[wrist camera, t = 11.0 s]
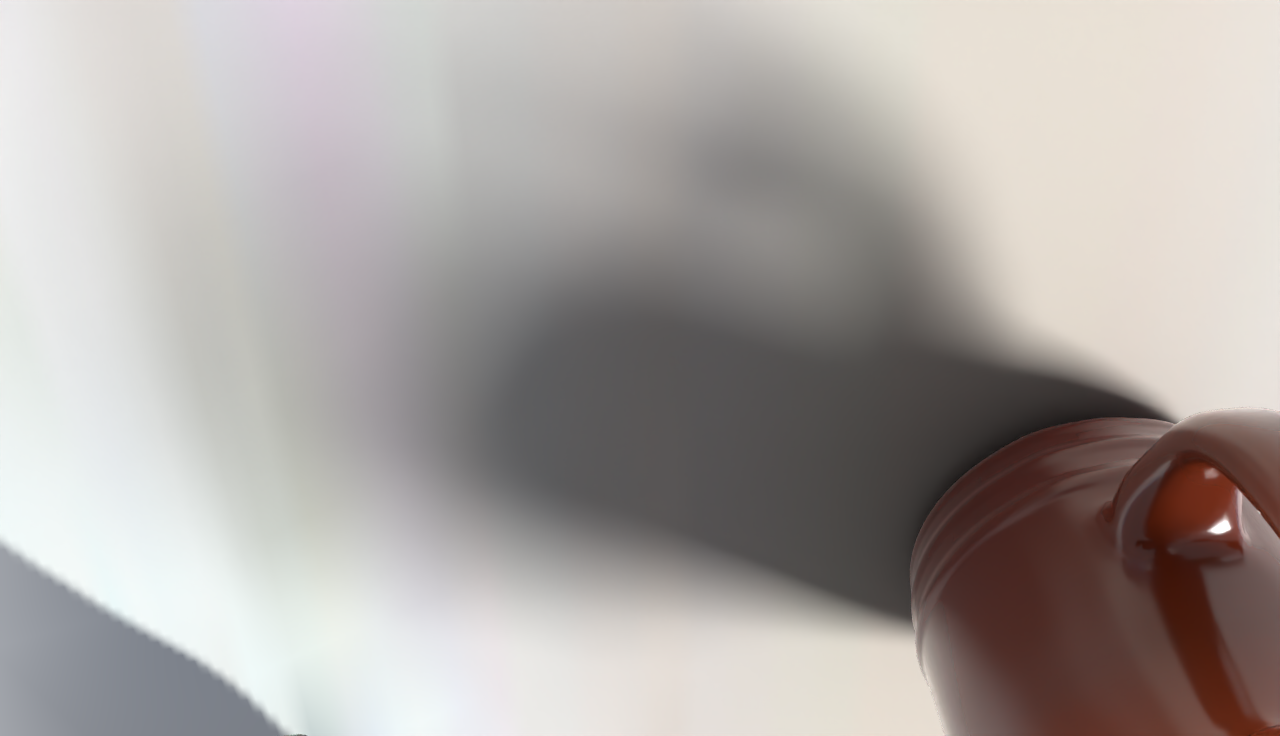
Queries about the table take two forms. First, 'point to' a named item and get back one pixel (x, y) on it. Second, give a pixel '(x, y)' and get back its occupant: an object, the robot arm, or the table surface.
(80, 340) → the table surface
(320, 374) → the table surface
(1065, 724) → the mug
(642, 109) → the table surface
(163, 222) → the table surface
